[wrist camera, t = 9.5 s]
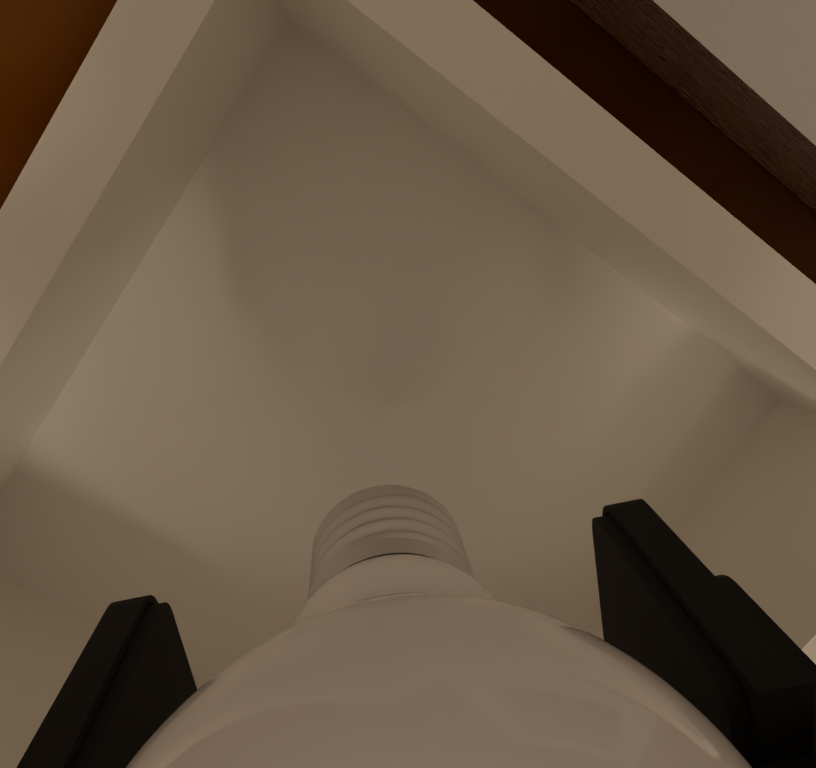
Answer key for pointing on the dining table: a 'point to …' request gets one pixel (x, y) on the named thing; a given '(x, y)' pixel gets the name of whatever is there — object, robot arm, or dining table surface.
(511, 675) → the lightbulb
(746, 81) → the socket collar
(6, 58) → the dining table surface
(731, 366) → the bin
